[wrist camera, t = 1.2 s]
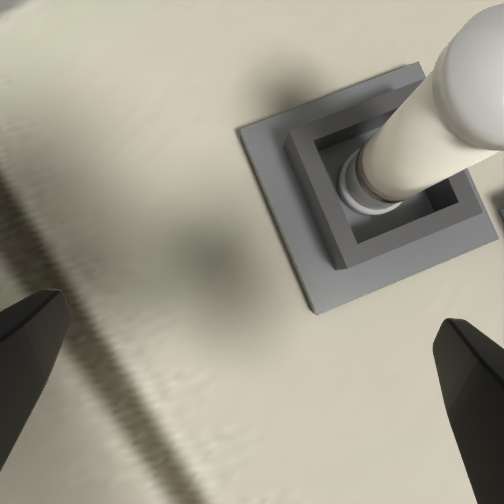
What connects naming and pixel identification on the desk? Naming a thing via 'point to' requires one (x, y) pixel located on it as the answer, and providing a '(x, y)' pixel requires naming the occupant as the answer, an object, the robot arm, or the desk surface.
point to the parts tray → (502, 212)
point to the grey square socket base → (338, 214)
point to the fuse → (435, 123)
